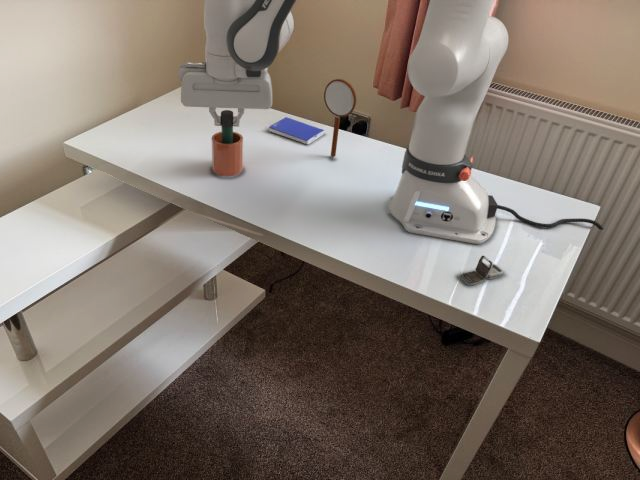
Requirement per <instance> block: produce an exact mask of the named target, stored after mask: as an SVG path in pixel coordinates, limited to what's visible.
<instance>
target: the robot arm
mask: <svg viewBox="0 0 640 480" xmlns="http://www.w3.org/2000/svg"><path fill="white" fill-rule="evenodd" d="M297 1H298V0H204V7H203V22H204V23H203V26H204V27H203V28H204V31H205V33H206V34H205V35H206V42H205V46H204V52H205V55H204V56H205V62H191V61H186V62H184V63H183V64H180V66H179V67H178V71H177V73H178V79H179V81H180V83H181V86H180V103H181V104H182V106H183V107H185V108H186V107H187V108H188V107H190V108H208V112H209V114H210V115H211V116H212V118H213V123H214V124H213V125H214V126H215V127H221V115H218V113H217V112H216V110H217V109H237V115H235V116H234V115H233V127H240V123H241V122H240V120H241V119H242V117H243V115H244V114H245V110H269V109H271V108H272V106H273V85H272V84H273V83H272V78H271V75H270V73H269V72H268V71H269V67H270V66H271V65H272V64H273V63H274V61H275V59H276V58H277V56H278V55H279V54H280V52H281V51H282V50H283V48H284V47H285V46H286V45H287V44H288V42H289V41H290V39H292V36H293V34H294V31H295V18H294V15H293V13H292V10H293V7H294V6H295V5H296V2H297ZM494 1H495V0H429V1H428V2H429V3H428V6H427V10H426V14H425V17H424V21H423V24H422V28H421V32H420V36H419V37H418V41H417V42H416V45H415V47H414V49H413V51H412V52H411V54H410V56H409V58H408V62H407V76H408V77H407V78H408V80H409V83H410V85H411V86H412V88H413V89H414V90H415V91H416V92H417V93H418V94H420V95H421V96H424V97H423V99H422V101H421V102H420V104H419V106H418V108H417V109H416V112H415V116H414V121H413V125H412V129H411V135H410V140H409V144H408V146H407V148H405V151H404V154H403V160H402V165H401V176H400V179H399V182H398V184H397V188H396V190H395V191H394V194H393V196H392V198H391V199H390V201H389V204H388V210H389V212H390V214H391V215H392V216H393V218H395V219H396V220H397V221H398V222H399V223H401V224H402V226H403V228H404V230H405V231H406V232H408V233H411V234H417V235H423V236H427V237H428V236H429V237H433V238H434V237H435V238H441V239H447V240H451V241H457V242H464V243H469V244H475V245H480V244H483V243H485V242H486V241H488V240H489V239H490V238H491V236H492V235H493V233H494V231H495V227H496V222H497V221H496V220H497V219H496V213H497V211H498V210H501V211H505V212H508V213H510V214H512V215H513V216H514V217H515V218H516V219H517V220H519V221H521V222H523V223H526V224H527V225H530V226H534V227H539V228H555V227H557V226H559V225H561V224H564V223H586V224H591V225H593V226H595V227H596V228H597V229H598V230H601V231H603V230H604V227H603V226H602V225H601V224H600V223H599V222H598V221H596V220H594V219H589V218H562V219H559V220H557V221H555V222H552V223H542V222H538V221H537V222H536V221H533V220H530V219H528V218H525V217H523V216H521V215H520V214H519V213H518V212H516V210H514V209H513V208H510V207H507V206H503V205H500V204H498V202H497V201H496V199H495V197H494V196H493V195H491V194H488V192H487V190H486V189H485V188H484V187H483V186H482V185H481V184H480V183H479V182H478V181H477V180H476V178H475V177H473V176H472V168H473V161H474V157H473V156H471V158H470V159H469V157H468V156H467V155H466V150H467V147H468V144H469V140H470V137H471V133H472V130H473V126H474V123H475V120H476V118H477V115H478V113H479V110H480V108H481V106H482V104H483V102H484V100H485V98H486V95H487V93H488V90H489V89H490V86H491V84H492V81H493V79H494V76H495V74H496V72H497V69H498V67H499V65H500V64H501V61H502V60H503V58H504V56H505V54H506V52H507V50H508V46H509V40H510V39H509V38H510V37H509V33H508V30H507V27H506V26H505V24H504V23H503V22H502V20H500V19H499V18H497V17H495V16H491V15H490V13H491V10H492V7H493V4H494Z"/></svg>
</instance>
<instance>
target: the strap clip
mask: <svg viewBox="0 0 640 480" xmlns="http://www.w3.org/2000/svg"><path fill="white" fill-rule="evenodd" d="M484 260H485V261H487V262H488V263H489V264H486V263H485V262H484ZM504 272H505V271H504V270H503V269H502V268H500V267H499V266H498V265H497V264H495V263H493V261H492V260H491V259H489V258H488V257H487V256H486V255H481V256H480V258H479V260H478V262H477V264H476V267H475V270H472V271H468V272H465V273H462V274H460V276H459V277H460V279H461V280H462V281H464V283H465V284H467V285H469V286H471V285H472V286H474V285H477V284H479V283H482V282H484V280H485V279H488V280H492V279H496V278H500V277H501V276H503V275H504ZM466 278H467V279H468V280H469V281H468V280H467V279H466Z"/></svg>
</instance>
